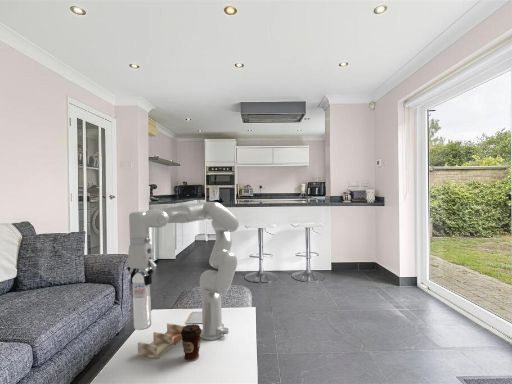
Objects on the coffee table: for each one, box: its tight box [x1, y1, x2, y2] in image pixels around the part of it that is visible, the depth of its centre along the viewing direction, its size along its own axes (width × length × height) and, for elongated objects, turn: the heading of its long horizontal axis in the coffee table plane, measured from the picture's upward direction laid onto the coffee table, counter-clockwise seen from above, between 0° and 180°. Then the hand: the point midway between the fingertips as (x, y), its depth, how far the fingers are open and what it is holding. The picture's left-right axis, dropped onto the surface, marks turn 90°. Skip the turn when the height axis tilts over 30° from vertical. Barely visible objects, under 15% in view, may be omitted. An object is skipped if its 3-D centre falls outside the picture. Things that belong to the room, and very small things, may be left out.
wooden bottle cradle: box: [137, 322, 185, 360], centre depth 134 cm, size 11×20×5 cm, turn 158°
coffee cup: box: [181, 323, 202, 362], centre depth 124 cm, size 9×8×13 cm
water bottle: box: [132, 269, 152, 331], centre depth 121 cm, size 7×7×25 cm
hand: (141, 283), depth 121 cm, fingers closed on water bottle, 6 cm apart
